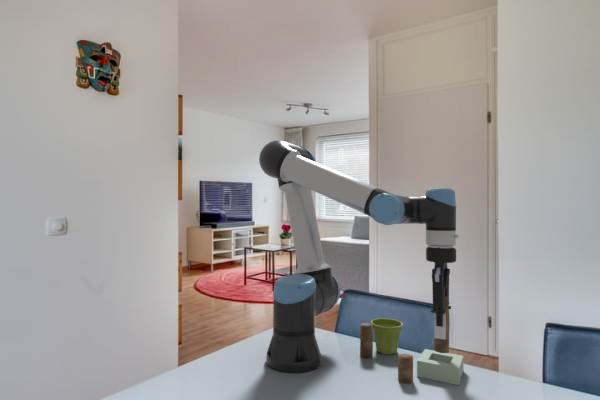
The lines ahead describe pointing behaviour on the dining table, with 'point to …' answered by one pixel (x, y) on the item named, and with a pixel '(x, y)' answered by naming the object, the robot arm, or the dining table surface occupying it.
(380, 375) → the dining table surface
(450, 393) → the dining table surface
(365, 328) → the peg medium
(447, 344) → the peg long
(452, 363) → the hole block
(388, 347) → the plant pot
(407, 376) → the peg short
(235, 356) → the dining table surface
